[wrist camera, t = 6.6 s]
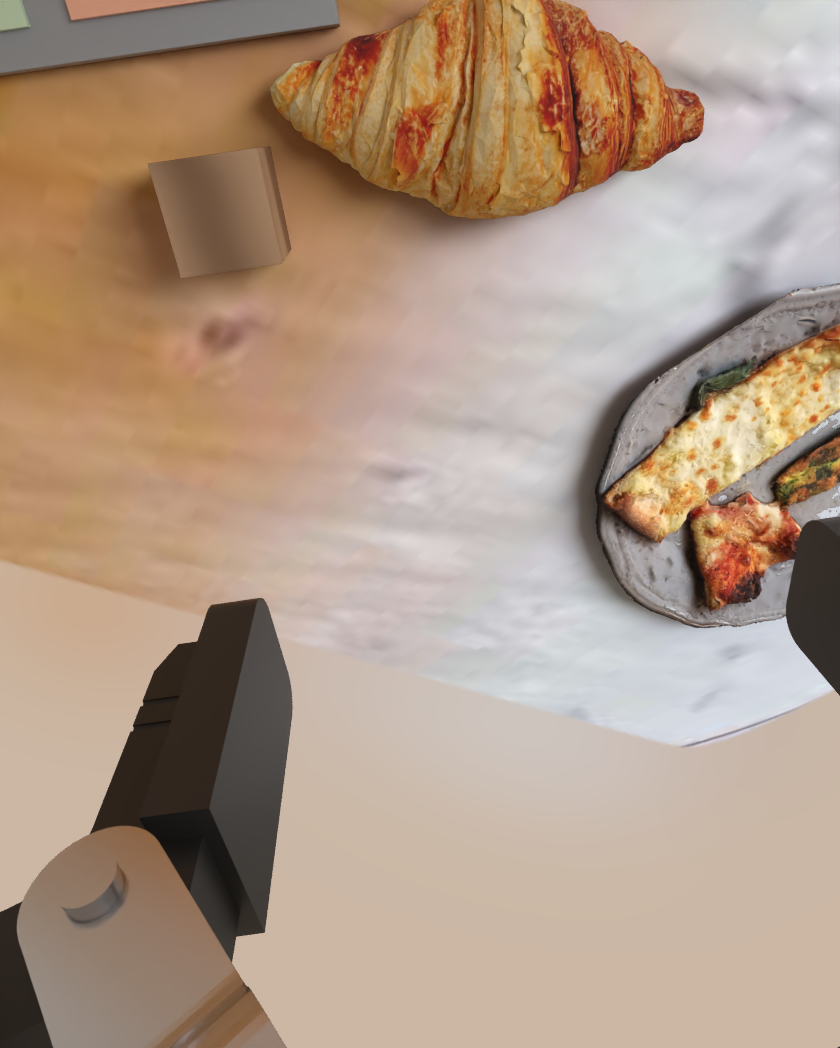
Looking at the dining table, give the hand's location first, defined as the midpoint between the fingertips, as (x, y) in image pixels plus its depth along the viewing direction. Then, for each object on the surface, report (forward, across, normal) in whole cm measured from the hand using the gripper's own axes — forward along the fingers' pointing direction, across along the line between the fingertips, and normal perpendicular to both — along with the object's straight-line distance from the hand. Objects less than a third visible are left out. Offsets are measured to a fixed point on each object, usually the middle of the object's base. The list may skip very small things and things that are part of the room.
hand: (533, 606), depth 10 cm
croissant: (+32, -5, -7) cm, 34 cm away
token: (+32, +9, -4) cm, 34 cm away
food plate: (+33, -23, +17) cm, 43 cm away
